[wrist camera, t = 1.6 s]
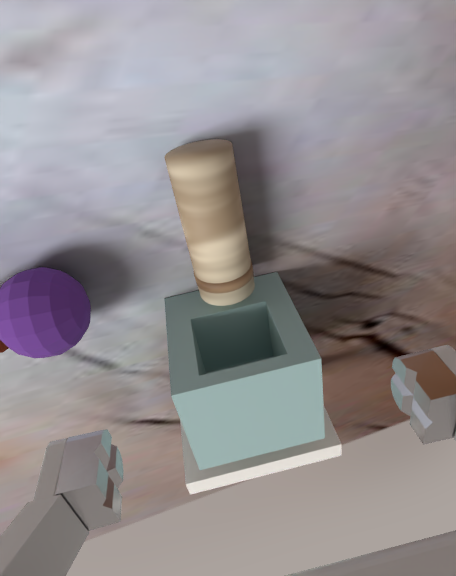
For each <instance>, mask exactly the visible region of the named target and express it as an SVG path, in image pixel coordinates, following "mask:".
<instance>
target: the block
mask: <svg viewBox="0 0 456 576" xmlns="http://www.w3.org/2000/svg"><path fill="white" fill-rule="evenodd" d="M254 283H255V287H254V290H253V292H252V294H251V295H250V296H249V297H247V298H246V299H244V300H243V301H241V302H238V303H236V304H232V305H227V306H216V305H211V304H208V303H206V302H205V301H204V300H203V299H202V298H201V296H200V292H199V290H198V291H194V292H190V293H186V294H181V295H177V296H173V297H169V298H165V312H166V326H167V341H168V355H169V370H170V384H171V396H172V399H173V402H174V404H175V407H176V409H177V412H178V415H179V417H180V420H181V422H182V425H183V428H184V430H185V433H186V436H187V438H188V441H189V443H190V446H191V449H192V451H193V454H194V457H195V459H196V462H197V464H198V467H199V470H203V469H207V468H211V467H215V466H219V465H223V464H227V463H230V462H234V461H238V460H242V459H246V458H250V457H254V456H258V455H262V454H266V453H269V452H273V451H277V450H281V449H285V448H289V447H293V446H297V445H301V444H304V443H308V442H312V441H316V440H320V439H324V438H325V429H324V407H323V386H322V364H321V357H320V355H319V353H318V351H317V349H316V347H315V345H314V343H313V341H312V339H311V337H310V335H309V334H308V332H307V330H306V328H305V326H304V324H303V322H302V320H301V318H300V316H299V314H298V312H297V310H296V308H295V306H294V304H293V302H292V300H291V298H290V296H289V294H288V292H287V290H286V288H285V286H284V284H283V283H282V281H281V279H280V277H279V275H278V273H277V272H274V273H270V274H266V275H261V276H257V277H254Z"/></svg>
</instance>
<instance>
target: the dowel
mask: <svg viewBox="0 0 456 576" xmlns="http://www.w3.org/2000/svg"><path fill="white" fill-rule="evenodd" d="M165 161H166V165H167V169H168V173H169V177H170V181H171V184H172V188H173V192H174V196H175V200H176V204H177V207H178V211H179V215H180V219H181V223H182V227H183V230H184V234H185V238H186V242H187V246H188V250H189V253H190V257H191V261H192V265H193V269H194V276H195V279H196V283H197V285H198V288H199V292H200V296H201V298H202V299H203V300H204V301H205V302H206V303H208V304H211V305H216V306H227V305H232V304H236V303H238V302H241V301H243V300H244V299H246V298H247V297H249V296H250V295H251V294H252V292H253V290H254V287H255V283H254V277H253V266H252V261H251V258H250V252H249V246H248V240H247V233H246V227H245V221H244V215H243V208H242V202H241V196H240V190H239V184H238V177H237V171H236V165H235V159H234V152H233V146H232V143H231V142H230V141H227V140H222V139H210V140H202V141H196V142H192V143H188V144H185V145H182V146H179V147H177V148H175V149H173V150H171V151H170V152H168V153H167V154H166V155H165Z"/></svg>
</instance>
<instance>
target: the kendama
mask: <svg viewBox="0 0 456 576" xmlns="http://www.w3.org/2000/svg"><path fill="white" fill-rule="evenodd" d="M90 312H91V307H90V301H89V299H88V296H87V294H86V292H85V290H84V288H83V286H82V285H81V284H80V283H79V282H78V281H77V280H75V279H74V278H73V277H71V276H70V275H68V274H67V273H65V272H62V271H60V270H55V269H50V268H45V267H40V268H35V269H30V270H25V271H23V272H20V273H18V274H16V275H15V276H13V277H12V278H10V279H9V280H7V281H6V282H5V283H3V285H2V286H1V288H0V352H4V351H5V350H7V349H8V348H10V349H11V350H13V351H14V352H16V353H17V354H19V355H24V356H28V357H32V358H45V357H50V356H56V355H61V354H63V353H64V352H66V351H67V350H69V349H70V348H72V347H73V346H75V345H76V344H77V343H78V342H79V341H80V340H81V338H82V337H83V335H84V333H85V332H86V330H87V329H88V327H89V323H90Z"/></svg>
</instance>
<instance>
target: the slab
mask: <svg viewBox="0 0 456 576" xmlns="http://www.w3.org/2000/svg"><path fill="white" fill-rule="evenodd" d="M323 407H324V405H323ZM180 423H181V434H182V446H183V457H184V469H185V480H186V486H187V488H188V490H189V493H190V494H194V493H198V492H202V491H206V490H210V489H214V488H217V487H221V486H225V485H229V484H233V483H237V482H241V481H244V480H248V479H252V478H256V477H260V476H264V475H268V474H271V473H275V472H279V471H283V470H287V469H290V468H294V467H298V466H302V465H306V464H310V463H314V462H317V461H322V460H325V459H329V458H333V457H337V456H341V442H340V440H339V438H338V436H337V433H336V431H335V429H334V427H333V425H332V423H331V420H330V418H329V416H328V414H327V412H326V409H325V407H324V429H325V438H324V439H320V440H316V441H312V442H308V443H304V444H301V445H297V446H293V447H289V448H285V449H281V450H277V451H273V452H269V453H266V454H262V455H258V456H254V457H250V458H246V459H242V460H238V461H234V462H230V463H227V464H223V465H219V466H215V467H211V468H207V469H203V470H199V467H198V464H197V462H196V459H195V457H194V454H193V451H192V449H191V446H190V443H189V441H188V438H187V436H186V433H185V430H184V428H183V425H182V422H181V420H180Z"/></svg>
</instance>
